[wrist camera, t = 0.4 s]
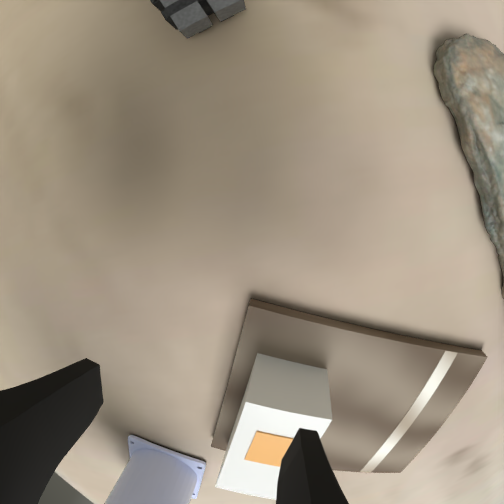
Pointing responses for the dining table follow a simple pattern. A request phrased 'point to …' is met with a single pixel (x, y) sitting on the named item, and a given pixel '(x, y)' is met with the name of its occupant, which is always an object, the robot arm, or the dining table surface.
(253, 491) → the block
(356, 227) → the dining table surface
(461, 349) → the subfloor panel
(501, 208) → the long grey stone
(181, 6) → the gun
